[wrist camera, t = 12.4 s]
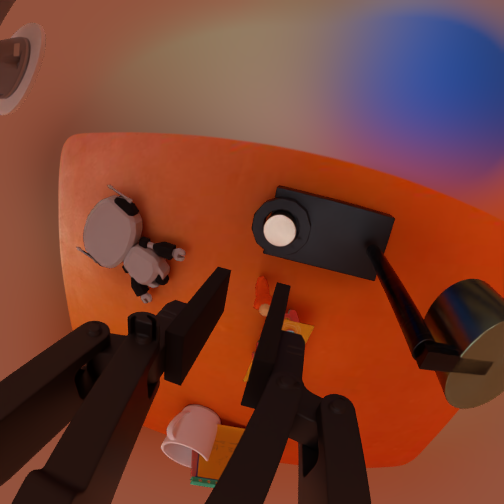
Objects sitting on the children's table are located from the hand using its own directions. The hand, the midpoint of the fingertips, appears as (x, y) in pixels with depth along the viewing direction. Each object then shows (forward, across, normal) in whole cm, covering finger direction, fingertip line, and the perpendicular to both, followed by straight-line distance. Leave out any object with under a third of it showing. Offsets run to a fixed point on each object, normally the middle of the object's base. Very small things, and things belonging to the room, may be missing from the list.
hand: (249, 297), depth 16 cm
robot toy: (+21, -20, -8) cm, 30 cm away
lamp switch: (+17, 0, 0) cm, 17 cm away
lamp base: (+21, +6, 0) cm, 21 cm away
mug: (+21, -7, -40) cm, 46 cm away
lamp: (+17, +15, 0) cm, 22 cm away
